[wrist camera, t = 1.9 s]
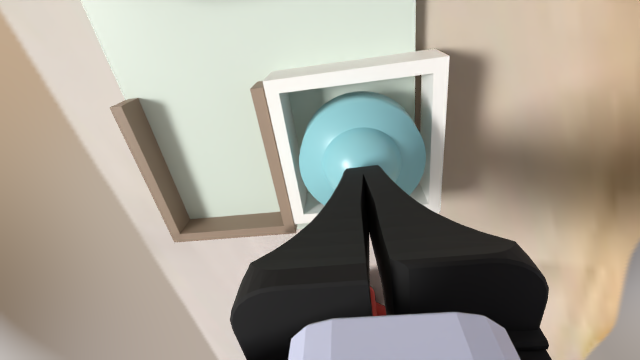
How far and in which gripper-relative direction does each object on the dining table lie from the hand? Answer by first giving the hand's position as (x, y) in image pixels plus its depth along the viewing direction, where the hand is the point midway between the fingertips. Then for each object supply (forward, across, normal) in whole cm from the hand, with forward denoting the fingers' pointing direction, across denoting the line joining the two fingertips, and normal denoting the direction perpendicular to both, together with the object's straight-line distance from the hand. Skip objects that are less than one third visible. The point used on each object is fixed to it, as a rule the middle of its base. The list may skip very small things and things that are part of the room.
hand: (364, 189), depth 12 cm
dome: (+4, 0, 0) cm, 4 cm away
